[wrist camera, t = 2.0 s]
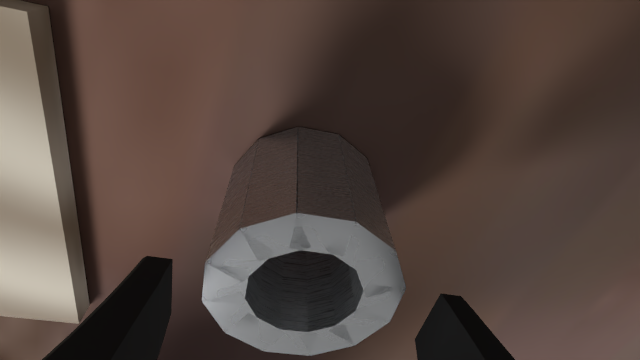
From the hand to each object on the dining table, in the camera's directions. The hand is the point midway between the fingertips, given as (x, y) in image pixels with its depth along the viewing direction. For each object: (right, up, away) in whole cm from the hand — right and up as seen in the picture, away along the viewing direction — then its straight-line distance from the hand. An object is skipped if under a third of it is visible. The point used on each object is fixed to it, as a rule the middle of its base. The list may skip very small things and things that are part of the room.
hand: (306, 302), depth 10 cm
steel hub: (0, +3, +5) cm, 5 cm away
